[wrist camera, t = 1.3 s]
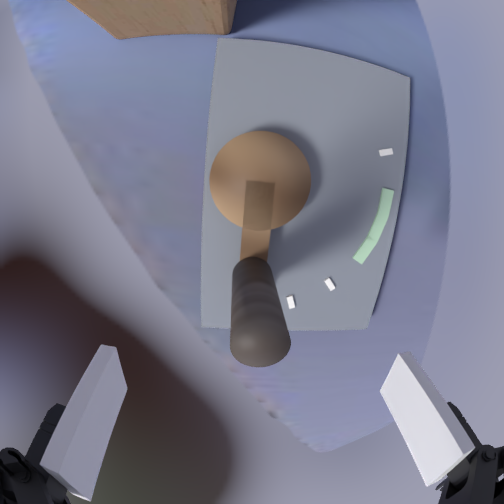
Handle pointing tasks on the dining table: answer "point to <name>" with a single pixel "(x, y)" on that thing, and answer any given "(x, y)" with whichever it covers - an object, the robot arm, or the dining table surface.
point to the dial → (258, 234)
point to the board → (322, 178)
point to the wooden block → (159, 16)
